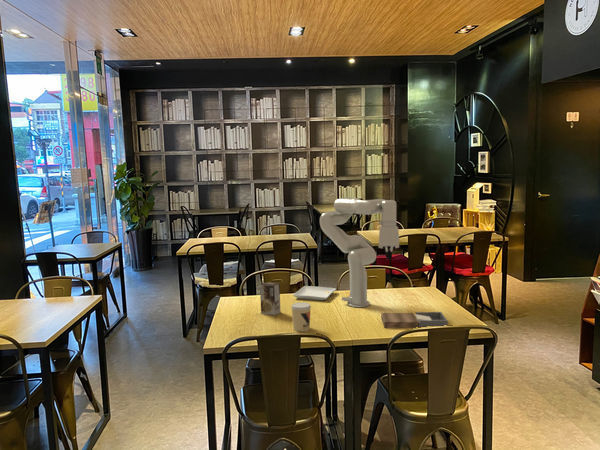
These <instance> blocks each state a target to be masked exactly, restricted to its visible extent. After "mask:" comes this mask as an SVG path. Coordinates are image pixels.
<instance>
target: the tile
mask: <svg viewBox="0 0 600 450" xmlns="http://www.w3.org/2000/svg"><path fill="white" fill-rule="evenodd" d="M414 316H415V317H416V319H417V321H418V323H420V320H431V318H430V317H429V316H423V315H417V314H416V315H415V314H414Z"/></svg>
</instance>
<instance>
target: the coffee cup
mask: <svg viewBox="0 0 600 450" xmlns="http://www.w3.org/2000/svg"><path fill="white" fill-rule="evenodd" d="M311 307H312V306H311V304H310V303H308V302H304V301H303V302H302V301H301V302H295V303H292V305H291V315H292V317H291V318H292V327H293V330H294V331H295V332H300V331H303V332H308V331H309V330H310V329H311V328H310V324H311Z"/></svg>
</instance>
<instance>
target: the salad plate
mask: <svg viewBox="0 0 600 450" xmlns="http://www.w3.org/2000/svg"><path fill="white" fill-rule="evenodd" d="M336 290H337V289H336V288H333V287H327V286H326V287H325V286H324V287H323V286H312V285H310V286H309V285H304V286H302V287H301V288H299V290H298V291H295V292H294V293H293V294H292V295H293V297H295V298H297V299H301V300H312V301H314V300H315V301H325V300H327V299H328V298H329V297H330V296H331V295H332V294H333V293H335V291H336ZM325 292H329V293H325ZM307 293H308V294H307Z"/></svg>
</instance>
